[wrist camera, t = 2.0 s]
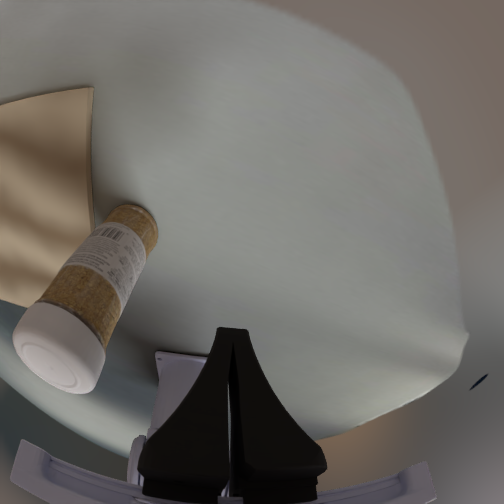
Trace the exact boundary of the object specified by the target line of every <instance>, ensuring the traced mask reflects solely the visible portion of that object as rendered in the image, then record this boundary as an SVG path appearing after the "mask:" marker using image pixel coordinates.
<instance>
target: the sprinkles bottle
mask: <svg viewBox="0 0 504 504" xmlns="http://www.w3.org/2000/svg"><path fill="white" fill-rule="evenodd" d="M157 238H158V229H157V226H156V222H155V221H154V219H153V217H152V216H151V215H150V214H149V213H148V212H147V211H145V210H144V209H143V208H141V207H138V206H136V205H129V204H127V205H121V206H118V207H116V208H115V209H114V210H113V211H111V212H110V214H109V215H108V217H107V219H106V220H105V221H104V222H103V223H102V224H101V225H99V226H98V227H97V228H96V229H95V230H94V231H93V232H92V233H91V234H90V235H89V236H88V237H87V238H86V239H85V240H84V241H83V243H82V244H81V245H80V246H79V247H78V248H77V249H76V251H75V252H74V253H73V254H72V255H71V256H70V257H69V259H68V260H67V261H66V262H65V263H64V265H63V266H62V267H61V268H60V270H59V271H58V274H57V275H56V277H55V278H54V280H53V281H52V282H51V284H50V285H49V286H48V288H47V289H46V290H45V292H44V293H43V294H42V296H41V297H40V299H38V300H36V301H35V303H34V304H33V305H31V306H30V307H29V308H28V309H27V310H26V312H25V313H24V315H23V316H22V318H21V319H20V321H19V323H18V324H17V326H16V328H15V330H14V332H13V344H14V347H15V349H16V351H17V353H18V355H19V356H20V358H21V359H22V361H23V362H24V363H25V364H26V365H27V366H28V367H29V368H30V369H31V370H32V371H33V372H34V373H35V374H36V375H38V376H39V377H40V378H41V379H43V380H44V381H46V382H47V383H49V384H51V385H53V386H54V387H57V388H59V389H61V390H64V391H67V392H70V393H76V394H84V393H88V392H90V391H92V390H93V389H94V387H95V385H96V383H97V380H98V378H99V375H100V373H101V370H102V367H103V365H104V362H105V354H106V347H107V344H108V342H109V340H110V337H111V335H112V332H113V330H114V328H115V326H116V323H117V321H118V320H119V318H120V316H121V314H122V312H123V309H124V307H125V305H126V303H127V301H128V298H129V296H130V294H131V292H132V290H133V288H134V286H135V284H136V282H137V280H138V277H139V275H140V273H141V271H142V269H143V267H144V265H145V261H146V259H147V258H148V255H149V253H150V252H151V251H152V250H153V248H154V247H155V245H156V243H157Z"/></svg>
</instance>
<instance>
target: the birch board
mask: <svg viewBox="0 0 504 504" xmlns="http://www.w3.org/2000/svg"><path fill="white" fill-rule="evenodd" d="M93 92H94V87H88V88H80V89H73V90H66V91H60V92H54V93H49V94H44V95H39V96H35V97H30V98H26V99H22V100H18V101H14V102H10V103H7V104H3V105H0V299H2V300H5V301H7V302H11V303H14V304H17V305H20V306H23V307H26V308H29V307H30V306H31V305H33V304H34V303H35V301H36V300H38V299H40V297H41V296H42V294H43V293H44V292H45V290H46V289H47V288H48V286H49V285H50V284H51V282H52V281H53V280H54V278H55V277H56V275H57V274H58V271H59V270H60V268H61V267H62V266H63V265H64V263H65V262H66V261H67V260H68V259H69V257H70V256H71V255H72V254H73V253H74V252H75V251H76V249H77V248H78V247H79V246H80V245H81V244H82V243H83V241H84V240H85V239H86V238H87V237H88V236H89V235H90V234H91V233H92V232H93V231H94V230H95V220H94V210H93V197H92V179H91V122H92V105H93Z"/></svg>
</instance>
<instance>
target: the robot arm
mask: <svg viewBox="0 0 504 504" xmlns="http://www.w3.org/2000/svg"><path fill="white" fill-rule="evenodd" d="M155 359H156V364H157V370H158V375H159V384H158V389H157V394H156V399H155V404H154V409H153V415H152V420H151V426H150V428H149V429H148V433H147V438H146V436H144V435H139V437H137V438H135V439H134V440H133V443H132V447H131V451H130V456H129V463H128V472H127V482H124V481H120V480H116V479H113V478H109V477H106V476H103V475H99V474H97V473H93V472H90V471H88V470H85V469H82V468H79V467H77V466H74V465H71V464H69V463H66V462H64V461H62V460H59V459H57V458H55V457H53V456H51V455H50V454H49V453H48V452H46V451H45V450H43V449H41V448H39V447H37V446H35V445H33V444H31V443H29V442H27V441H26V440H24V439H22V440H21V442H20V445H19V448H18V452H17V455H16V458H15V462H14V465H13V469H12V473H11V477H10V480H11V481H12V482H13V483H15V484H17V485H18V486H20V487H22V488H23V489H25V490H27V491H28V492H30V493H32V494H34V495H35V496H37V497H39V498H41V499H43V500H45V501H47V502H48V503H50V504H427V503H429V502H431V501H433V500H435V499H436V498H437V496H436V492H435V489H434V485H433V481H432V478H431V475H430V471H429V468H428V465H427V462H426V461H424V462H421V463H419V464H416V465H413V466H410V467H408V468H406V469H404V470H402V471H400V472H399V473H398V474H394V475H391V476H388V477H385V478H381V479H377V480H374V481H370V482H366V483H362V484H358V485H353V486H349V487H344V488H339V489H333V490H328V491H321V492H317V491H316V485H317V484H318V481H317V476H319V475H320V474H322V473H324V472H325V471H326V469H327V462H326V459H325V456H324V453H323V451H322V449H321V447H320V446H319V445H318V444H316V443H315V442H314V441H313V440H312V439H311V438H310V437H309V436H308V435H307V434H306V433H305V432H304V431H303V430H302V429H301V427H300V426H299V425H298V424H297V423H296V422H295V420H294V419H293V418H292V417H291V416H290V414H289V413H288V412H287V411H286V409H285V408H284V406H283V405H282V404H281V402H280V401H279V399H278V398H277V396H276V395H275V393H274V391H273V390H272V388H271V386H270V385H269V383H268V381H267V379H266V377H265V375H264V373H263V371H262V369H261V367H260V364H259V362H258V360H257V357H256V355H255V352H254V349H253V347H252V344H251V340H250V336H249V332H248V330H247V329H236V328H225V327H219V328H217V331H216V336H215V340H214V343H213V346H212V348H211V351H210V353H209V355H208V357H199V356H190V355H183V354H175V353H168V352H162V351H157V352H156V353H155ZM228 385H229V399H230V413H231V440H230V451H229V438H228Z"/></svg>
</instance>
